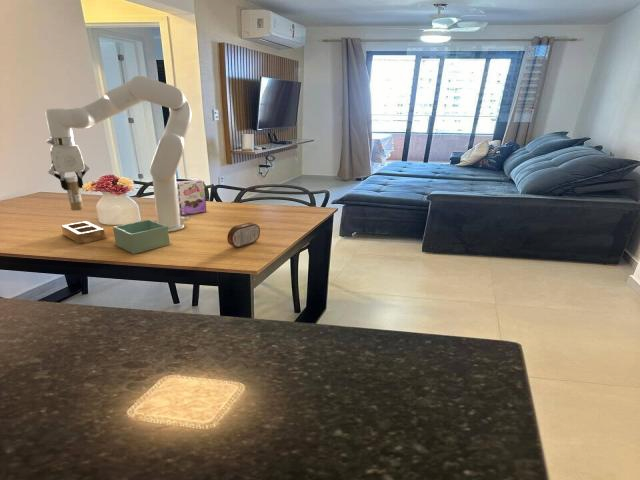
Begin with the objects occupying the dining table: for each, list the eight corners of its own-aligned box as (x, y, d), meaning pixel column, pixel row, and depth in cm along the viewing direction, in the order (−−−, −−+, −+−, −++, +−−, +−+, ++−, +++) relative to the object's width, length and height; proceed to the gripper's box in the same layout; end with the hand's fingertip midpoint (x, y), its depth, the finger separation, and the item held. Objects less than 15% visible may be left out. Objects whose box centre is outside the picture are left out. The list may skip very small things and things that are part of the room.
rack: (87, 229, 166) (86, 221, 164) (105, 238, 155) (104, 229, 154) (63, 234, 159) (61, 225, 157) (80, 244, 148) (78, 234, 147)
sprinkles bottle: (84, 209, 156) (77, 177, 151) (71, 211, 153) (63, 178, 149) (83, 207, 159) (77, 175, 155) (70, 209, 157) (63, 176, 152)
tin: (256, 239, 159) (255, 219, 156) (261, 241, 157) (261, 221, 154) (227, 248, 148) (226, 227, 145) (232, 250, 146) (231, 229, 143)
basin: (151, 236, 159) (148, 219, 157) (169, 244, 150) (167, 226, 148) (115, 245, 148) (112, 226, 146) (133, 253, 140) (131, 234, 137)
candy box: (180, 216, 191) (177, 183, 185) (176, 213, 195) (173, 181, 190) (206, 212, 199) (204, 180, 194) (202, 209, 203) (199, 179, 198)
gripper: (41, 144, 139) (52, 193, 145) (90, 141, 151) (99, 186, 157) (34, 143, 143) (45, 190, 149) (83, 140, 156) (91, 184, 162)
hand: (73, 188), depth 153 cm, fingers closed on sprinkles bottle, 4 cm apart
